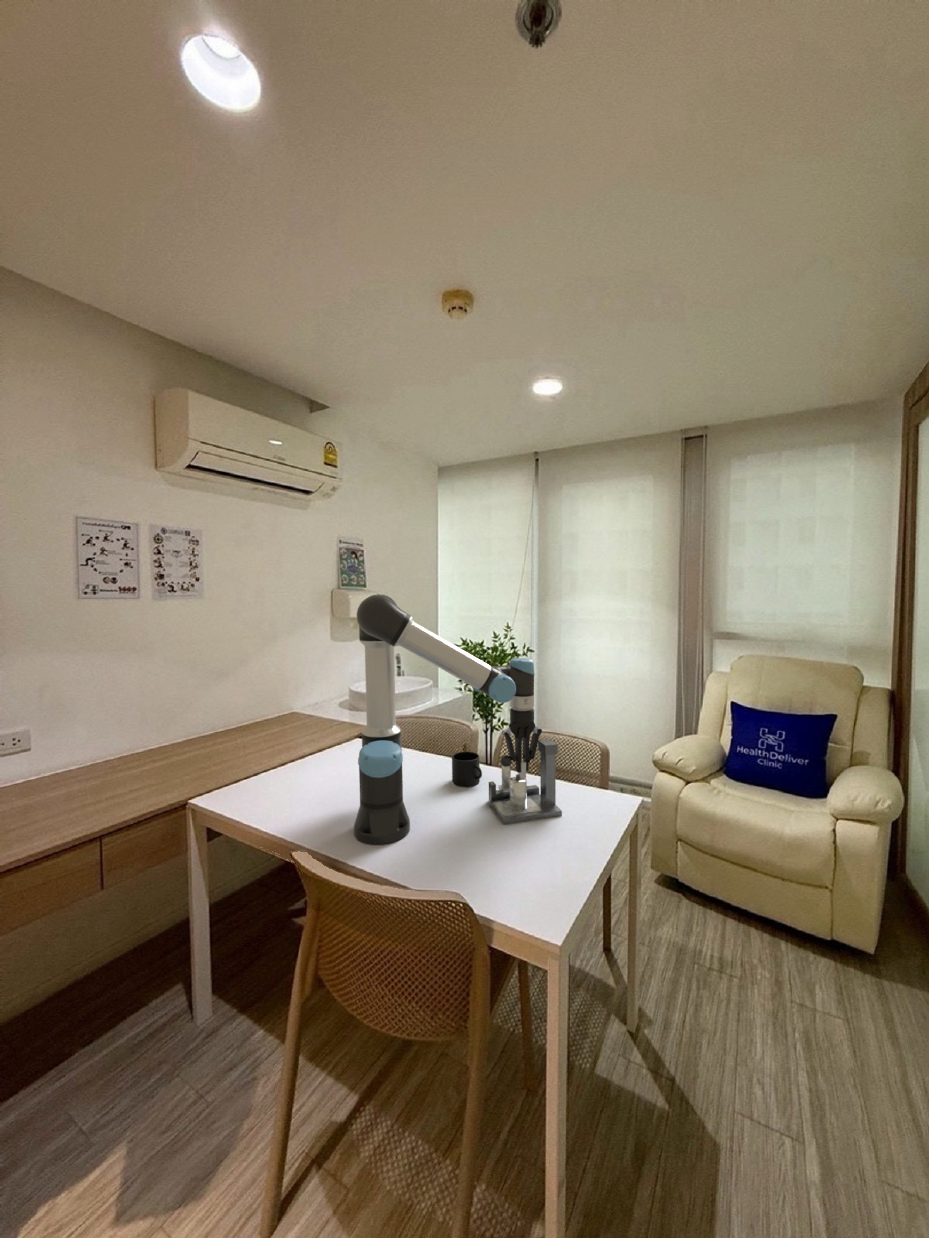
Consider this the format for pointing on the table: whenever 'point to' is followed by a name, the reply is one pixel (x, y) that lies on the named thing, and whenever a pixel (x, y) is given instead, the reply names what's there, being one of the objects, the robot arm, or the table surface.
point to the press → (531, 792)
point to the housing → (518, 793)
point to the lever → (505, 773)
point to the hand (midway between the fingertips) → (522, 781)
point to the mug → (466, 769)
